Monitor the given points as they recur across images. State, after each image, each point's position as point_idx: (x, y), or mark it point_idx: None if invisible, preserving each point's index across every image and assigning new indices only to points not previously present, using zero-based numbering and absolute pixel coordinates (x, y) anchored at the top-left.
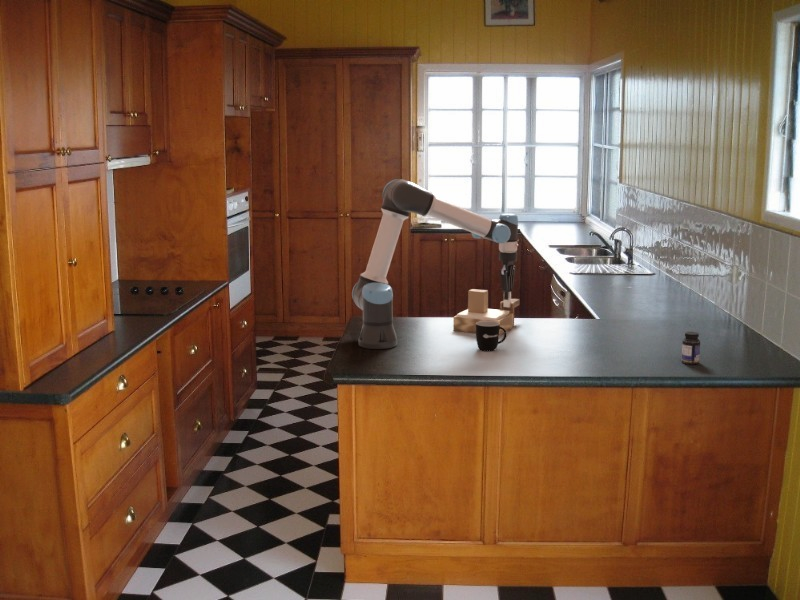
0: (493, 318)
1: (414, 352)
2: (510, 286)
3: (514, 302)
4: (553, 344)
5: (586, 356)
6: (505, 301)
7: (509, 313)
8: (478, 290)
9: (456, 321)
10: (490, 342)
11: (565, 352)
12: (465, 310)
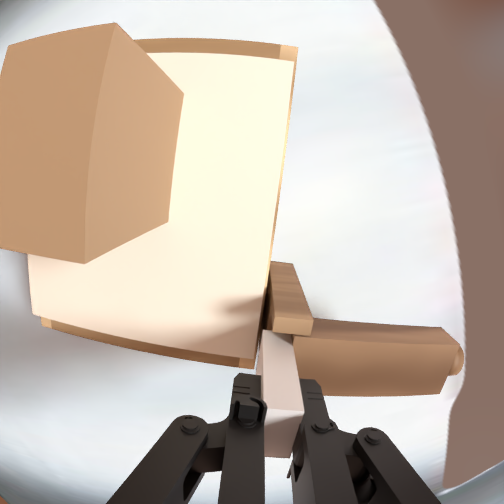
0: (33, 300)
1: None
2: (294, 494)
3: (346, 394)
4: (84, 459)
5: (46, 491)
6: (260, 367)
7: (255, 350)
8: (39, 139)
9: None
10: None
11: (42, 468)
12: (154, 58)
